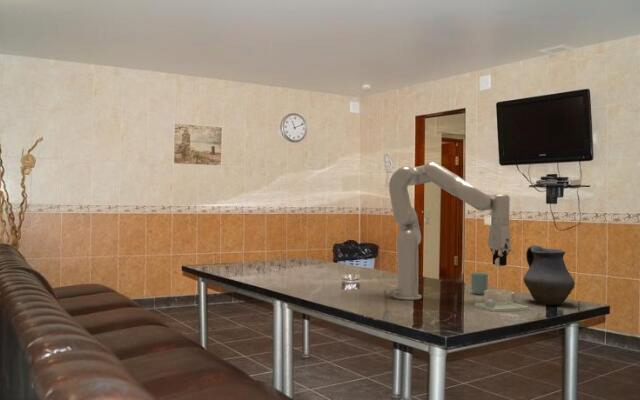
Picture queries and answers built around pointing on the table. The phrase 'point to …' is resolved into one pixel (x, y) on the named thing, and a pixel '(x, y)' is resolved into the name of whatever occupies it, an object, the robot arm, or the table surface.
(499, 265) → the pebble
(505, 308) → the tray
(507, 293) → the bowl
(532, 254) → the pitcher
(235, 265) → the table surface
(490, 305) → the pebble
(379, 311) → the table surface
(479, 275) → the cup
